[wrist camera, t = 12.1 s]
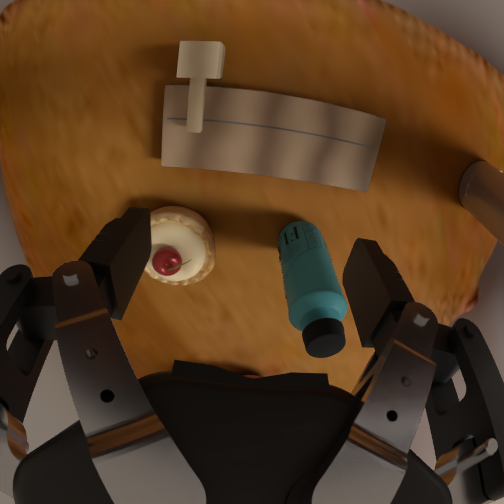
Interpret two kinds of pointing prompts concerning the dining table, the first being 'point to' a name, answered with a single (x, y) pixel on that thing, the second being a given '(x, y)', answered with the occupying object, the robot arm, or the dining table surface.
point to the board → (272, 136)
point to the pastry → (180, 246)
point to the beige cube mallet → (199, 75)
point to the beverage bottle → (312, 289)
